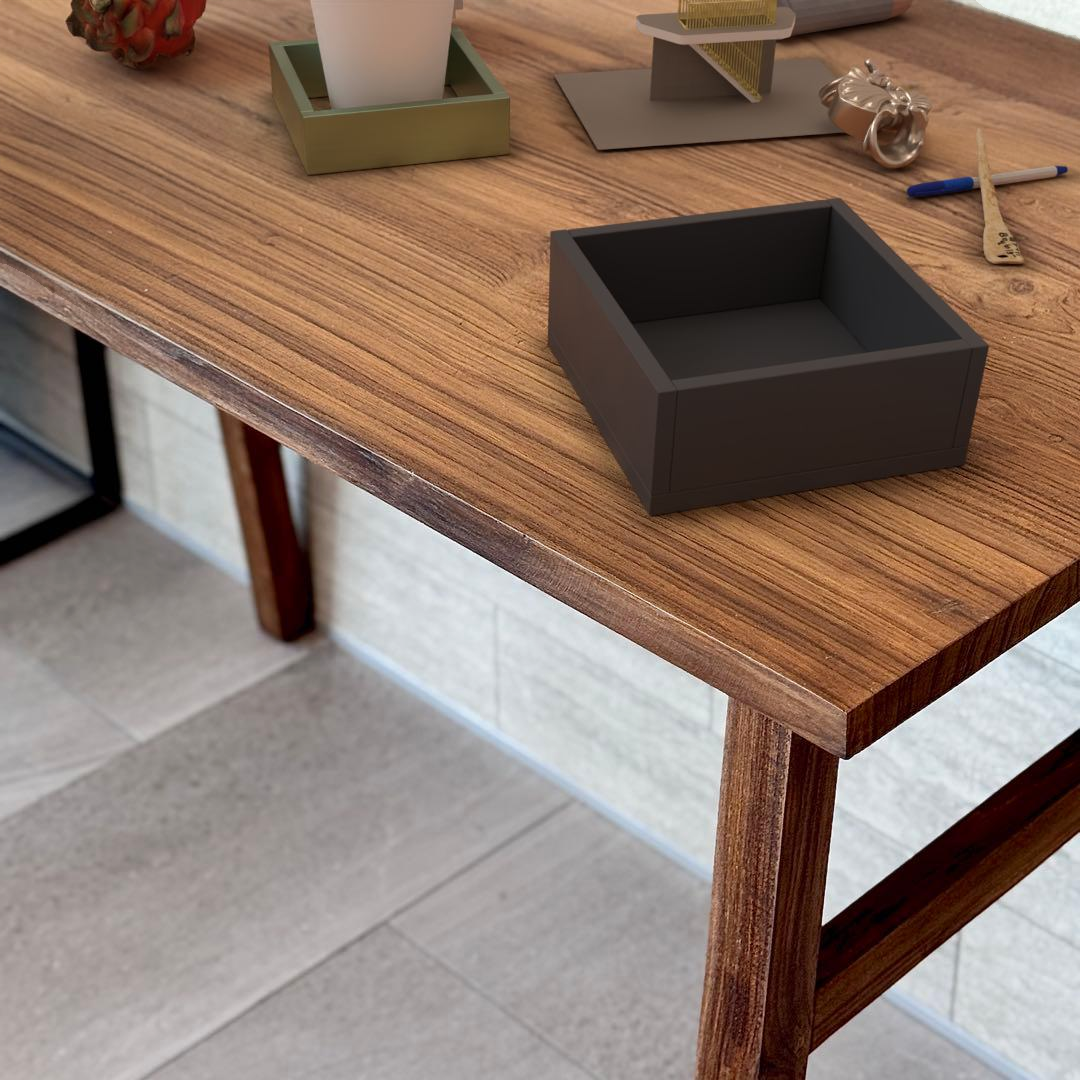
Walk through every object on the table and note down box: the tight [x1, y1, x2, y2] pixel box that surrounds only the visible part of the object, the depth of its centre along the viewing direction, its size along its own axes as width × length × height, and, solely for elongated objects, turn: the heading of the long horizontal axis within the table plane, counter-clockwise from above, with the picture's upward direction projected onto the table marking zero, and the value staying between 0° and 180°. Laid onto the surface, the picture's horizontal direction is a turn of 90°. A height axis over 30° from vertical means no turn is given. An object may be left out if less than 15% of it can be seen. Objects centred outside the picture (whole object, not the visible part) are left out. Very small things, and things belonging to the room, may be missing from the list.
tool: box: [975, 127, 1025, 265], centre depth 93 cm, size 14×1×2 cm
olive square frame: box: [267, 25, 511, 176], centre depth 100 cm, size 12×12×4 cm
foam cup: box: [309, 0, 454, 109], centre depth 97 cm, size 10×9×13 cm
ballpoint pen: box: [906, 165, 1069, 198], centre depth 96 cm, size 10×1×1 cm
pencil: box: [763, 0, 913, 41], centre depth 116 cm, size 11×3×3 cm, turn 119°
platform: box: [553, 0, 845, 151], centre depth 103 cm, size 12×18×7 cm, turn 102°
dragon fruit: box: [64, 0, 207, 71], centre depth 107 cm, size 8×8×12 cm
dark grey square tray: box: [547, 197, 990, 517], centre depth 75 cm, size 15×15×6 cm
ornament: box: [819, 57, 933, 169], centre depth 99 cm, size 8×7×4 cm
